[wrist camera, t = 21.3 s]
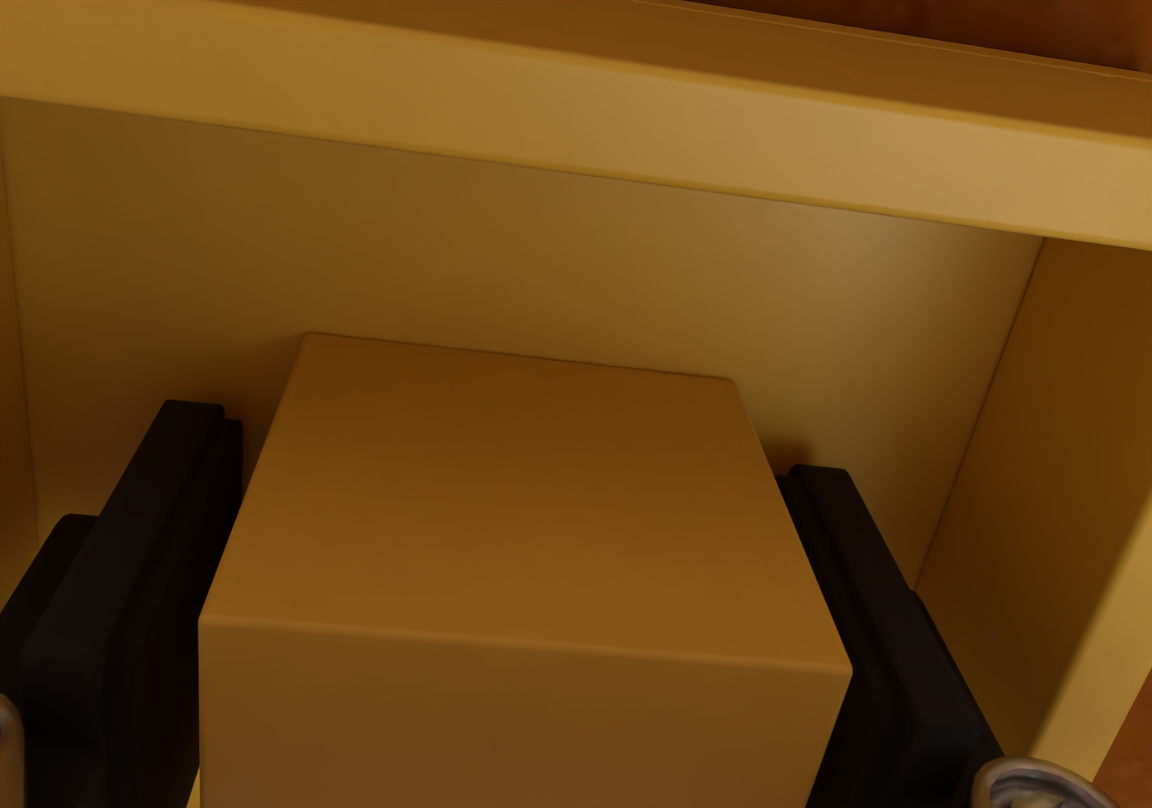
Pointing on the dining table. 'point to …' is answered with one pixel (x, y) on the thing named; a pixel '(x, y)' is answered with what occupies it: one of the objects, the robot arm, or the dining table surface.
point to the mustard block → (511, 595)
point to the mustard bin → (620, 268)
